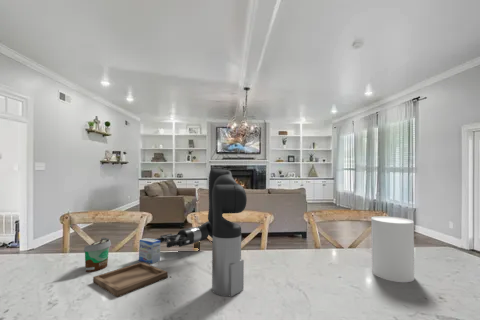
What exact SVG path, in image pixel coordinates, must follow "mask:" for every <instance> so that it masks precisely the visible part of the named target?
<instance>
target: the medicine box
mask: <svg viewBox="0 0 480 320" xmlns="http://www.w3.org/2000/svg"><path fill="white" fill-rule="evenodd" d="M156 239H157V238H150V237H145V238H141V239H139V240H138V241H139V243H138V245H139V248H138V249H139V250H138V261H139V262H144V263H146V264H148V263H149V264H150V265H151V264H155V263H158V262H159V261H161V243H160V240H156Z"/></svg>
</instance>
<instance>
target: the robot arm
mask: <svg viewBox="0 0 480 320" xmlns="http://www.w3.org/2000/svg"><path fill="white" fill-rule="evenodd" d="M247 202H248V201H247V192H246V190H245V188H244V187H243V185H241V184H239V183H238V182H237V181H236V180H235V178H233V174H232V172H231V170H229V169H221V168H218V169H217V168H211V170H210V171H209V173H208V212H207V213H208V214H207V220H208V221H206V222H205V223H203V224H202V225H201V224H200V225H199V226H198V225H197V226H194V227H193V226H192V227H188V228H183V229H182V228H181V229H180V230H179V231H178V233H173V234H172V233H168V234H163V235H160V237H158V238H155V239H156V240H160V244H162V243H166V248H167V249H169V248H172V247H179V248H180V247H186V246H189V245H192V244H195V243H198V242H201V241H204V240H206V239H208V237H210V238H212V244H211V246H212V247H211V248H212V251H211V254H212V255H211V257H212V259H211V262H212V263H211V267H212V268H211V291H212V292H213V293H214V294H215V295H218V296H225V297H234V296H235V295H237V294H239V293H240V292H242V291H243V290H244V283H245V282H244V277H245V276H244V272H245V269H244V268H245V267H244V263H245V261H244V259H243V258H242V227H241V225H240V224H238V223H236V222H232V221H230V220H228V219H226V218H225V217H224V216H223V215H224V214H227V215H228V214H239V213H243V211H245V209H246V207H247Z"/></svg>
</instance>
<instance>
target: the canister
mask: <svg viewBox="0 0 480 320" xmlns="http://www.w3.org/2000/svg"><path fill="white" fill-rule="evenodd" d="M370 218H371V221H370V222H371V225H370V226H371V273H372V274H373V275H374V276H376V277H378V278H381V279H383V280H387V281H389V282H390V281H391V282H396V283H409V282H413V281H415V232H414V231H415V230H414V228H415V226H414V225H415V223H414V220H412V219H410V218H403V217H397V216H388V215H387V216H386V215H385V216H383V215H380V216H379V215H377V216H372V217H370Z"/></svg>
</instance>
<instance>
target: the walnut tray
mask: <svg viewBox="0 0 480 320" xmlns="http://www.w3.org/2000/svg"><path fill="white" fill-rule="evenodd" d="M168 273H169V272H168V271H167V270H164V269H161V268H158V267H157V266H153V265H151V264H150V263H149V264H148V263H147V262H143V261H139V262H138V263H134V264H131V265H127V266H124V267H120V268H118V269H115V270H112V271H108V272H105V273H101V274H98V275H95V276H93V277H92V278H93V279H92V283H93V284H94V285H95V286H97V287H99V288H101V289H102V290H105V291H106V292H108V293H109V294H111V295H112V296H115V297H116V298H119V297H122V296H125V295H127V294H130V293H133V292H135V291H137V290H140V289H143V288H145V287H148V286H150V285H152V284H155V283H158V282H160V281H162V280H165V279H167V278H168V277H169V274H168Z"/></svg>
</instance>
